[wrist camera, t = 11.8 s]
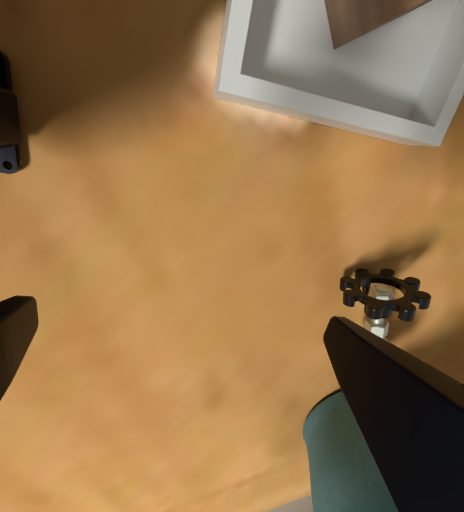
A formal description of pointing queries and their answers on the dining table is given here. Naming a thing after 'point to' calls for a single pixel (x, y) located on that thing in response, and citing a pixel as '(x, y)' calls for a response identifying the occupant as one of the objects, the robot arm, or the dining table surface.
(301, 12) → the tray
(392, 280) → the valve
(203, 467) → the dining table surface
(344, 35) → the walnut block
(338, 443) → the flower pot
